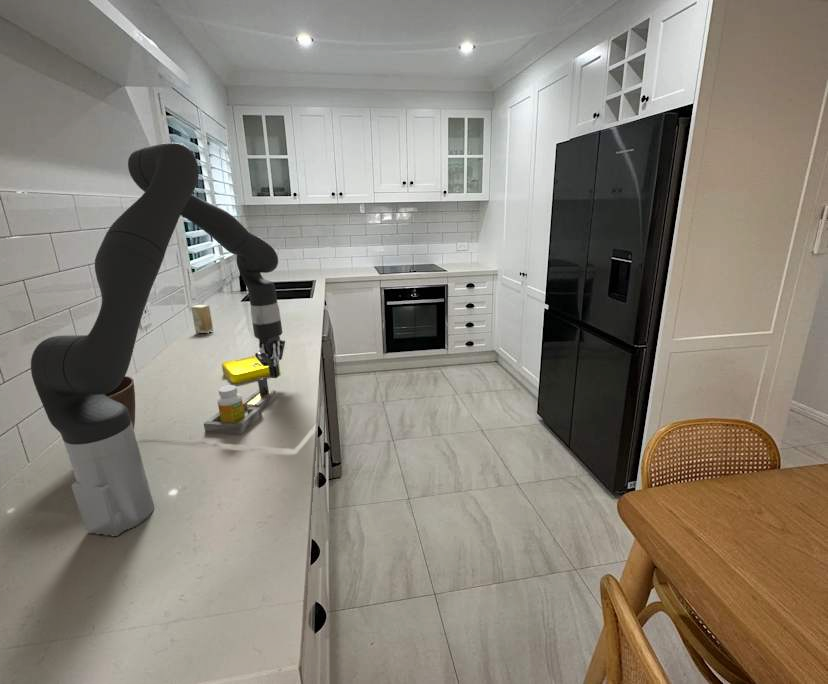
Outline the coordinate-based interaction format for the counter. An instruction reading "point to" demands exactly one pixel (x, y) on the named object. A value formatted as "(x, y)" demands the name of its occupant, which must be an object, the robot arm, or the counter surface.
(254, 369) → the element tile
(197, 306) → the skincare box
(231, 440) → the counter surface
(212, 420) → the docking base
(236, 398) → the supplement bottle
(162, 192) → the robot arm
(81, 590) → the counter surface
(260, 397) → the locking bolt
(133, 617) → the counter surface
